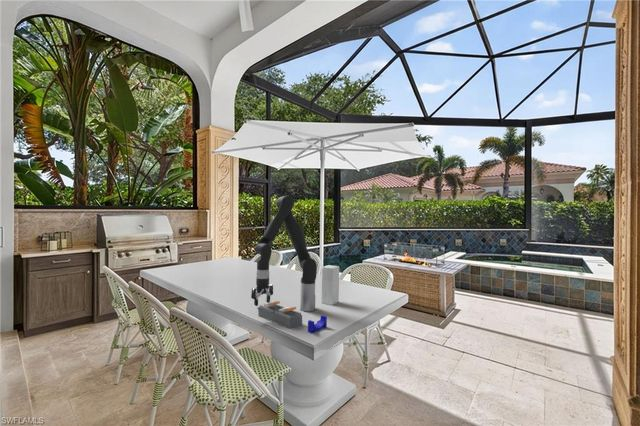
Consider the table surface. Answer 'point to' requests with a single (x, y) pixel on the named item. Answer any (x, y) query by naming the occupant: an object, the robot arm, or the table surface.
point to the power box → (280, 315)
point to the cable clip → (317, 324)
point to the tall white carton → (330, 284)
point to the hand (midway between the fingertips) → (262, 304)
